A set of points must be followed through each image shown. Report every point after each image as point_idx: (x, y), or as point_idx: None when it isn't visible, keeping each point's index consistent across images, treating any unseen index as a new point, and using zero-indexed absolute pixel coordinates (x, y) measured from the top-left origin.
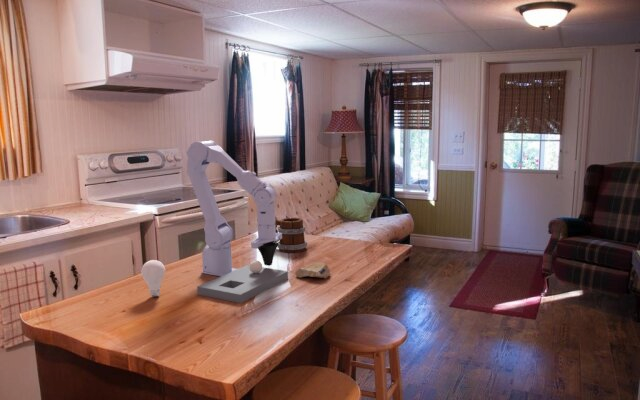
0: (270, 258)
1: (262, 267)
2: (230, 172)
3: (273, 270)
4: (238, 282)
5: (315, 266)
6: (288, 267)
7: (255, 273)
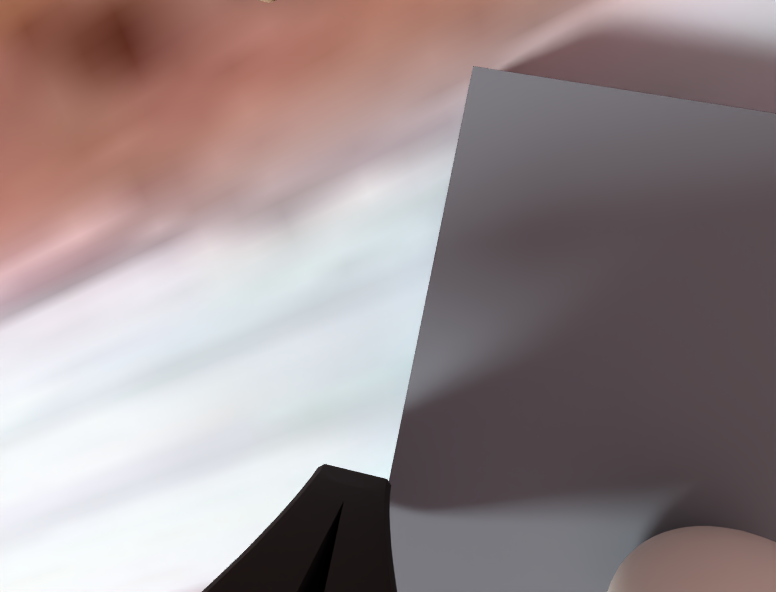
0: (369, 584)
1: None
2: None
3: (490, 355)
4: None
5: None
6: (34, 288)
7: None
